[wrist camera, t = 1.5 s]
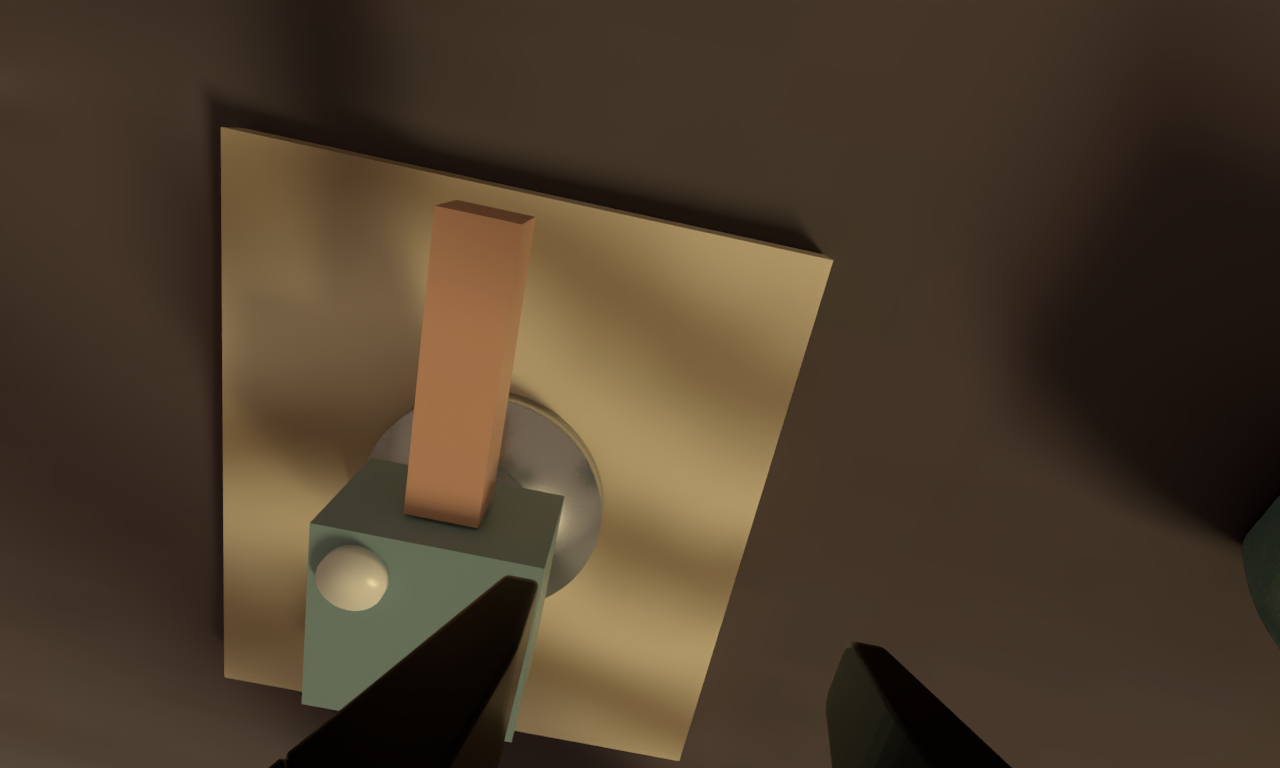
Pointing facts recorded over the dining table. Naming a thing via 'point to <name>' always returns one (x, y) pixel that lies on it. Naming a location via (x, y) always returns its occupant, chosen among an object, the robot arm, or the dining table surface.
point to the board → (542, 371)
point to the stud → (536, 475)
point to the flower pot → (1265, 568)
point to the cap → (434, 480)
